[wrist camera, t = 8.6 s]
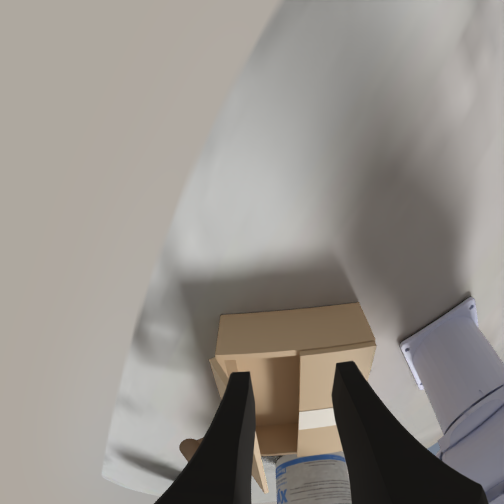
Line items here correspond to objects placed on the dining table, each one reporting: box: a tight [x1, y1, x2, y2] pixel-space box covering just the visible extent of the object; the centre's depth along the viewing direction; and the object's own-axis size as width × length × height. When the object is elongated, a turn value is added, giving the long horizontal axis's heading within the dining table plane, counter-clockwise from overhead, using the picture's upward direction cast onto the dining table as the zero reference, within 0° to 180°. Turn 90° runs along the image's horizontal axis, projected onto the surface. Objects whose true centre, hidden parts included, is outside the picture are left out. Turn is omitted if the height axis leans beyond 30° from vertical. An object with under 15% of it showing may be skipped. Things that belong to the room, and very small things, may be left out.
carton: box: [215, 302, 376, 457], centre depth 23 cm, size 10×16×4 cm, turn 6°
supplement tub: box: [276, 451, 352, 504], centre depth 27 cm, size 10×10×15 cm
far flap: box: [179, 357, 269, 494], centre depth 18 cm, size 5×16×5 cm
